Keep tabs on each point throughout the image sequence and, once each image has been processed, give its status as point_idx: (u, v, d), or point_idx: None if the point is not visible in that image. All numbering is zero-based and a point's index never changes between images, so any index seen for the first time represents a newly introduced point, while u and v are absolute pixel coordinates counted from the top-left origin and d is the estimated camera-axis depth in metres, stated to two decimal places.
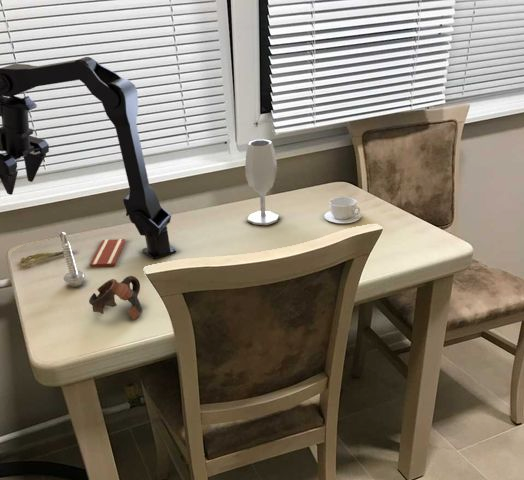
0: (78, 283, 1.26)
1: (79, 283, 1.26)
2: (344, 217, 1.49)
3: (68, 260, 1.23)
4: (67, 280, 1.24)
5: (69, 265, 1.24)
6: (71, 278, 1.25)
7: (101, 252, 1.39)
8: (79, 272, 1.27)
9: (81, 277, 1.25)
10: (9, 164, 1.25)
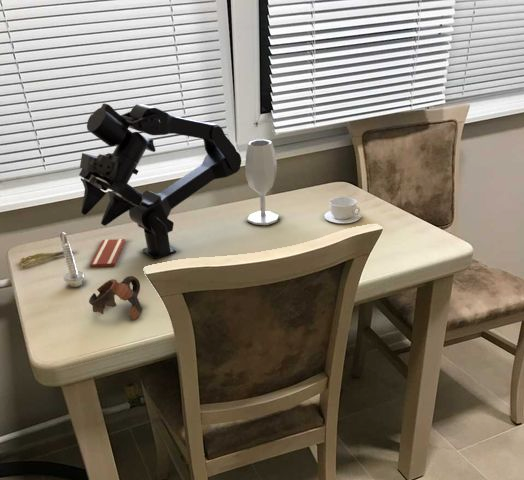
0: (78, 283, 1.26)
1: (79, 283, 1.26)
2: (344, 217, 1.49)
3: (68, 260, 1.23)
4: (67, 280, 1.24)
5: (69, 265, 1.24)
6: (71, 278, 1.25)
7: (101, 252, 1.39)
8: (79, 272, 1.27)
9: (81, 277, 1.25)
10: None
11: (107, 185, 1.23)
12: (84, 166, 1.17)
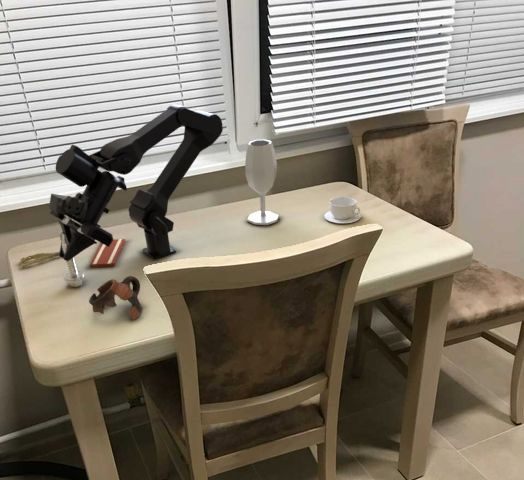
0: (78, 283, 1.26)
1: (79, 283, 1.26)
2: (344, 217, 1.49)
3: None
4: (67, 280, 1.24)
5: (69, 265, 1.24)
6: (71, 278, 1.25)
7: (101, 252, 1.39)
8: (79, 272, 1.27)
9: (81, 277, 1.25)
10: None
11: None
12: (53, 207, 1.16)
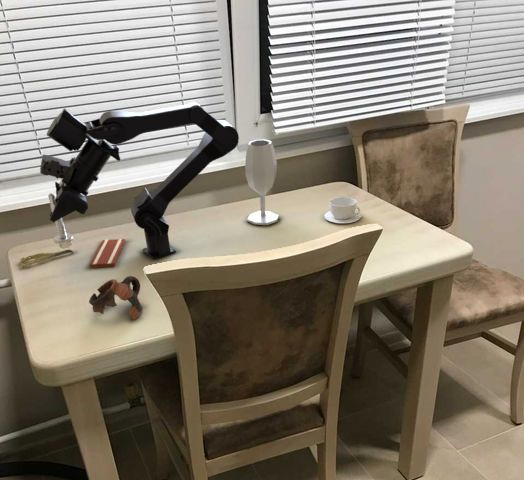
0: (65, 245, 1.30)
1: (66, 245, 1.30)
2: (344, 217, 1.49)
3: (55, 221, 1.26)
4: (54, 240, 1.29)
5: (57, 226, 1.27)
6: (58, 239, 1.28)
7: (101, 252, 1.39)
8: (69, 235, 1.30)
9: (67, 240, 1.28)
10: (87, 205, 1.20)
11: None
12: (40, 168, 1.19)
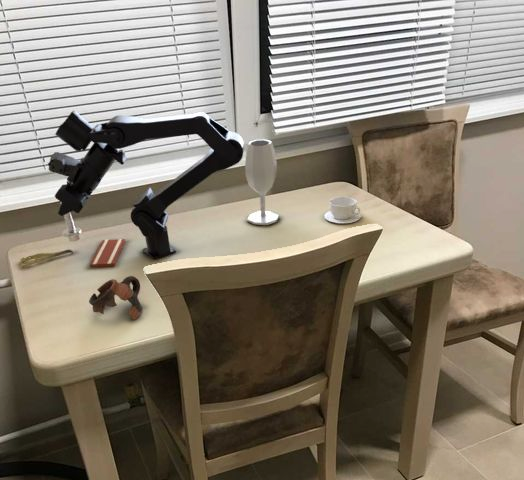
0: (72, 239, 1.36)
1: (73, 239, 1.36)
2: (344, 217, 1.49)
3: (64, 215, 1.33)
4: (62, 233, 1.35)
5: None
6: (66, 232, 1.35)
7: (101, 252, 1.39)
8: (78, 229, 1.36)
9: (73, 234, 1.34)
10: (83, 204, 1.24)
11: None
12: None
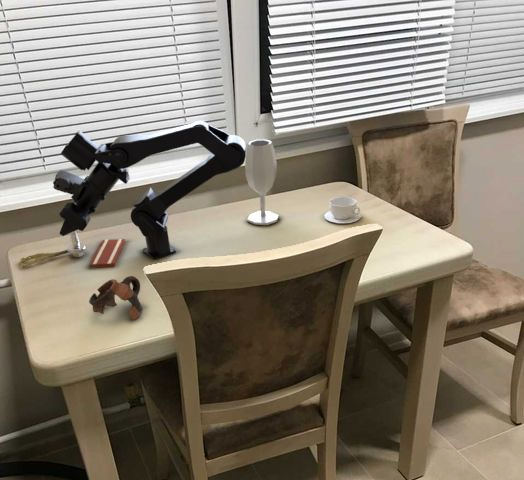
0: (76, 254, 1.38)
1: (77, 255, 1.39)
2: (344, 217, 1.49)
3: None
4: (67, 249, 1.38)
5: (70, 236, 1.36)
6: (70, 248, 1.38)
7: (101, 252, 1.39)
8: (82, 245, 1.39)
9: (77, 250, 1.37)
10: (87, 222, 1.26)
11: None
12: None
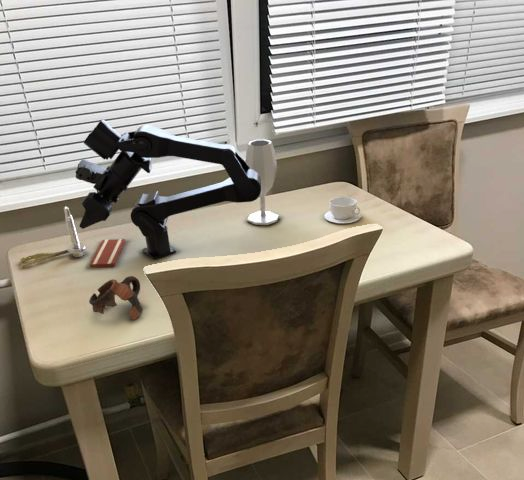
0: (76, 254, 1.38)
1: (77, 255, 1.39)
2: (344, 217, 1.49)
3: (69, 232, 1.36)
4: (67, 249, 1.38)
5: (70, 236, 1.36)
6: (70, 248, 1.38)
7: (101, 252, 1.39)
8: (82, 245, 1.39)
9: (77, 250, 1.37)
10: (110, 212, 1.25)
11: None
12: None
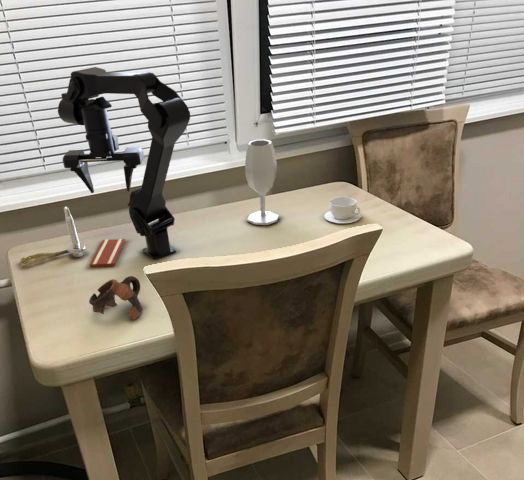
0: (76, 254, 1.38)
1: (77, 255, 1.39)
2: (344, 217, 1.49)
3: (69, 232, 1.36)
4: (67, 249, 1.38)
5: (70, 236, 1.36)
6: (70, 248, 1.38)
7: (101, 252, 1.39)
8: (82, 245, 1.39)
9: (77, 250, 1.37)
10: (67, 159, 1.31)
11: None
12: None
